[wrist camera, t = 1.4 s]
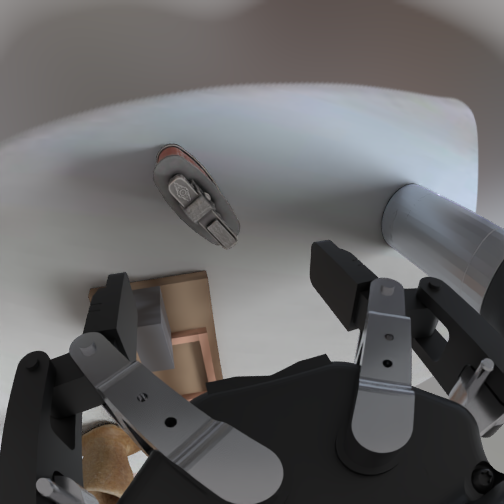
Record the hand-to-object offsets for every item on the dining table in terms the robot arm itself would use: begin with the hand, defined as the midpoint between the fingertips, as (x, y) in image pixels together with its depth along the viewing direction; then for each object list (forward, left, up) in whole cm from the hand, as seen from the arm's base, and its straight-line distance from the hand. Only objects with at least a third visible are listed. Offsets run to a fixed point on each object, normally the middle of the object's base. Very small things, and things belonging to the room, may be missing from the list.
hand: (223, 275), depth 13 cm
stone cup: (+23, +41, -18) cm, 50 cm away
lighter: (0, 0, -18) cm, 18 cm away
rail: (+6, +23, -17) cm, 29 cm away
